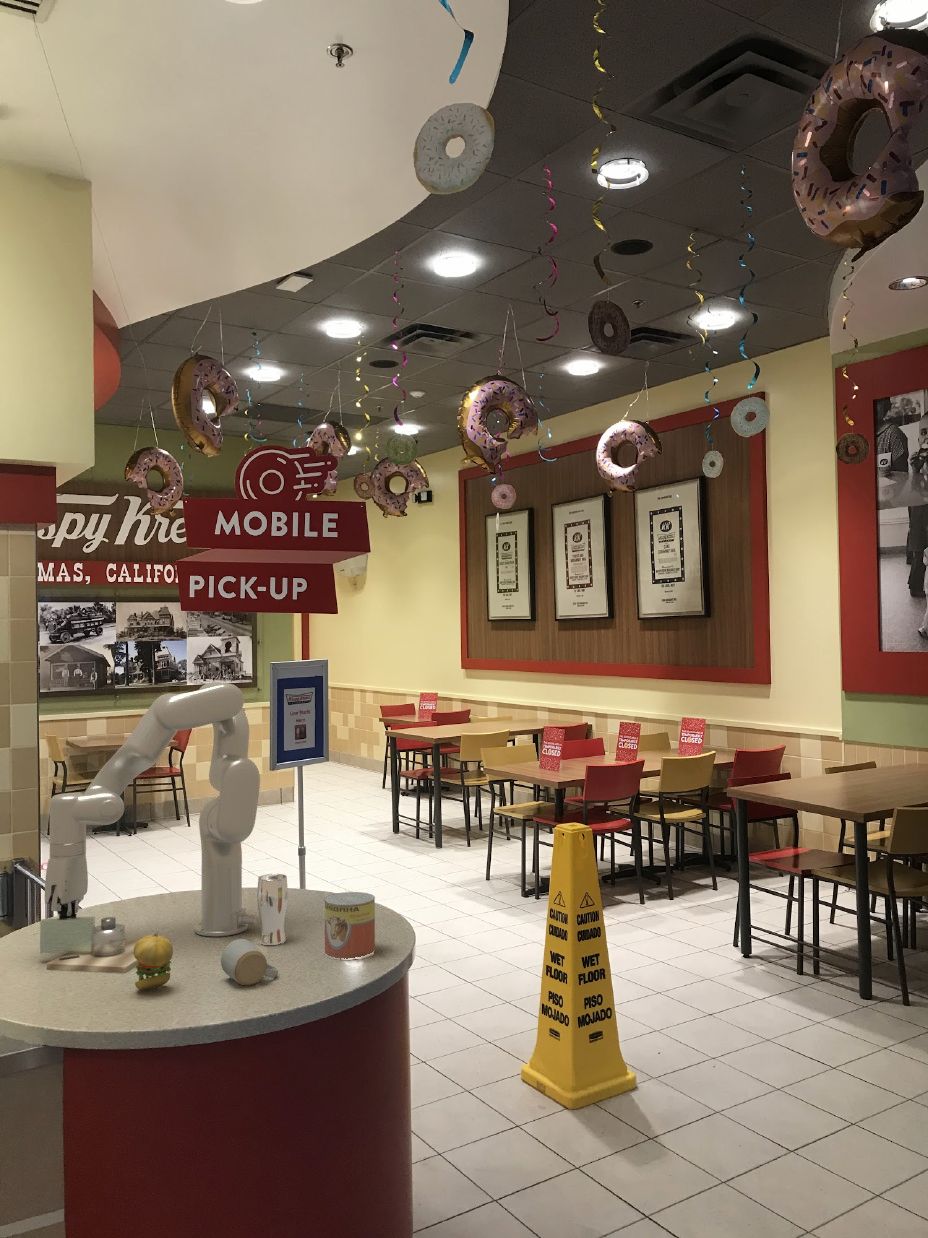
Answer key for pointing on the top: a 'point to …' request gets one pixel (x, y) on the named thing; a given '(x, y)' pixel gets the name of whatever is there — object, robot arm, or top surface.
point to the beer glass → (272, 907)
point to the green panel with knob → (82, 936)
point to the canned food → (349, 924)
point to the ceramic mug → (245, 963)
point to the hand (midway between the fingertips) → (67, 932)
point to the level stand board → (97, 961)
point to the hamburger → (153, 961)
